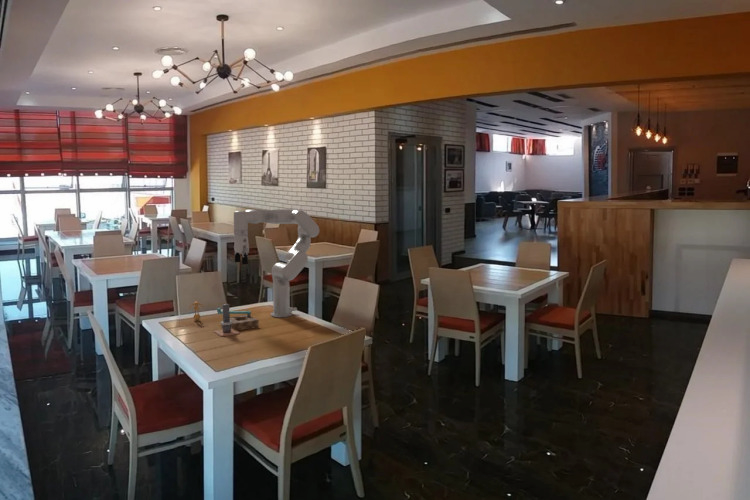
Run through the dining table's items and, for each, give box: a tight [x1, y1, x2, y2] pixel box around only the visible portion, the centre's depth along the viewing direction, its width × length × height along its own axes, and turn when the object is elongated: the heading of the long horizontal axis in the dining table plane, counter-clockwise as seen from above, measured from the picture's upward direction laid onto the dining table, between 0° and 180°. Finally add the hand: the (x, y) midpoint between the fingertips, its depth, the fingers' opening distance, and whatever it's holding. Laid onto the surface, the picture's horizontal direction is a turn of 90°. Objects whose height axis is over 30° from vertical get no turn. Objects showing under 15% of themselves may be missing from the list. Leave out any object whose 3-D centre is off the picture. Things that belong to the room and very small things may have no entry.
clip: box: [216, 307, 252, 315], centre depth 319 cm, size 19×2×3 cm, turn 93°
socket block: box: [230, 313, 259, 331], centre depth 314 cm, size 14×14×5 cm
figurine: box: [188, 300, 205, 322], centre depth 323 cm, size 8×6×12 cm
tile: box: [213, 329, 241, 337], centre depth 300 cm, size 10×10×1 cm
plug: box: [220, 303, 233, 333], centre depth 299 cm, size 6×6×14 cm
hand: (241, 263), depth 321 cm, fingers open, 9 cm apart
